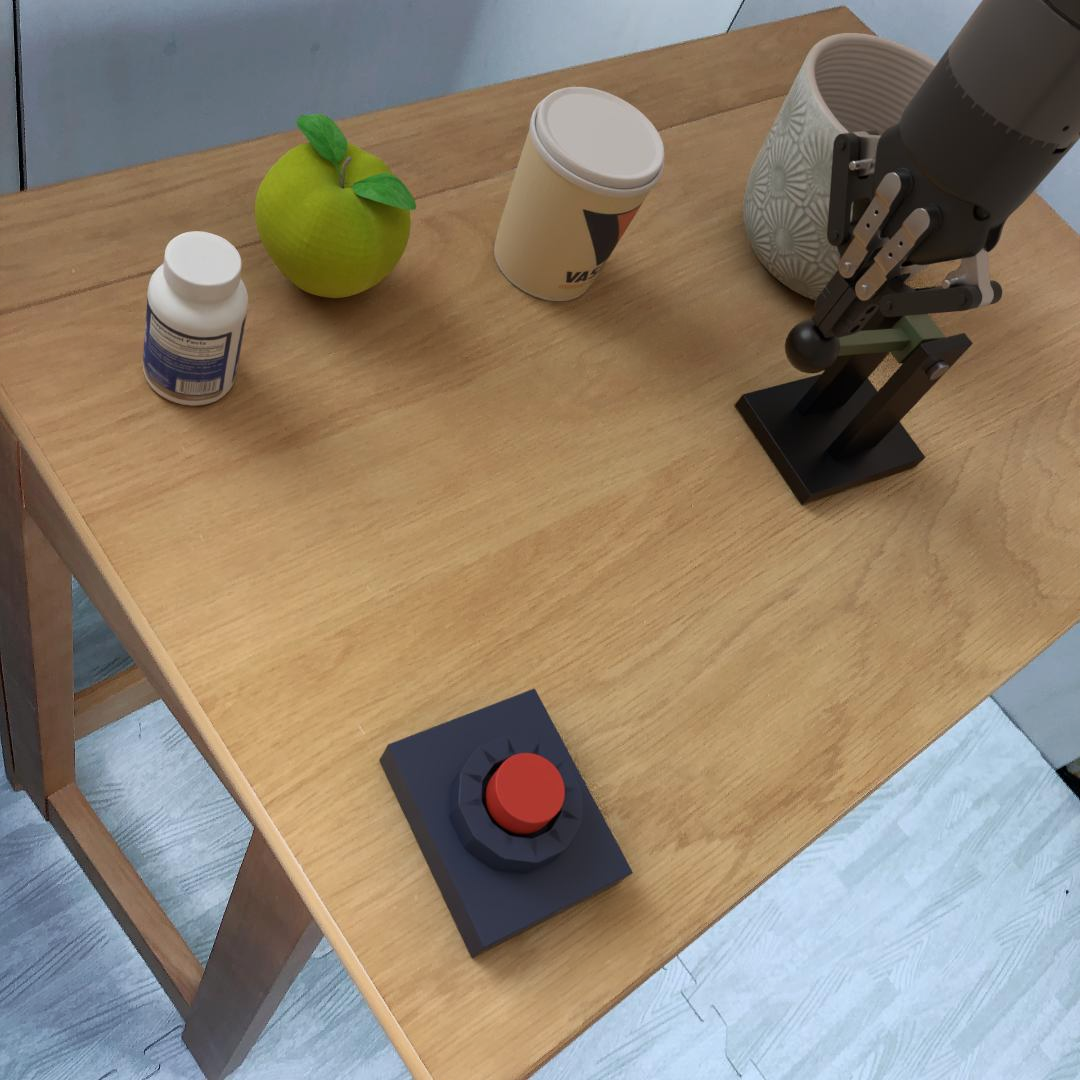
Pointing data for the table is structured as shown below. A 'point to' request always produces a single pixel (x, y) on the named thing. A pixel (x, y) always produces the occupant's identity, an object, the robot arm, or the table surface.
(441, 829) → the button block
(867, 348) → the lever
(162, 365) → the pill bottle
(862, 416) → the bracket
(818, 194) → the planter
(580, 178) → the coffee cup
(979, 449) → the table surface
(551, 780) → the button
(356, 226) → the fruit
